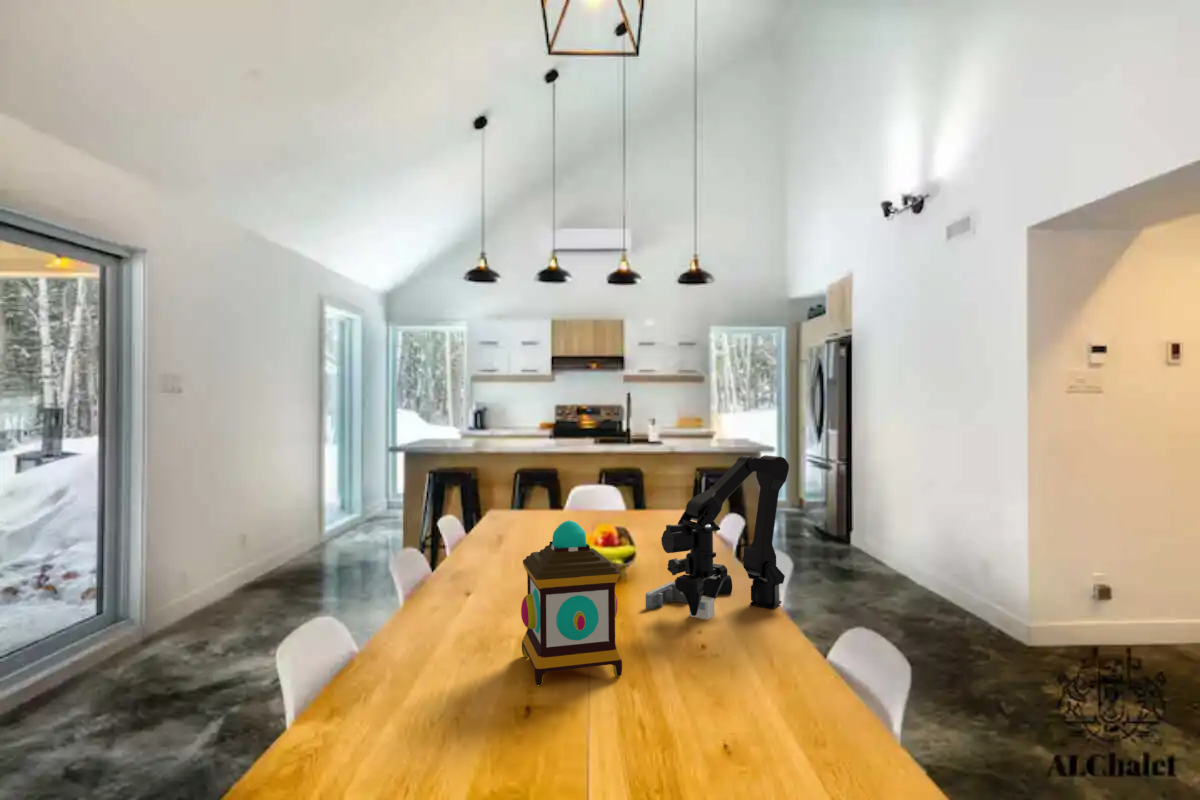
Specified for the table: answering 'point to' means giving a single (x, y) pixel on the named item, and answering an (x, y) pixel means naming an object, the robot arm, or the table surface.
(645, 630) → the table surface
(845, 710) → the table surface
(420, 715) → the table surface
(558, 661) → the decorative lantern
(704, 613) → the block
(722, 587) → the pipe connector
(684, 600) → the block
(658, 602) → the rail
